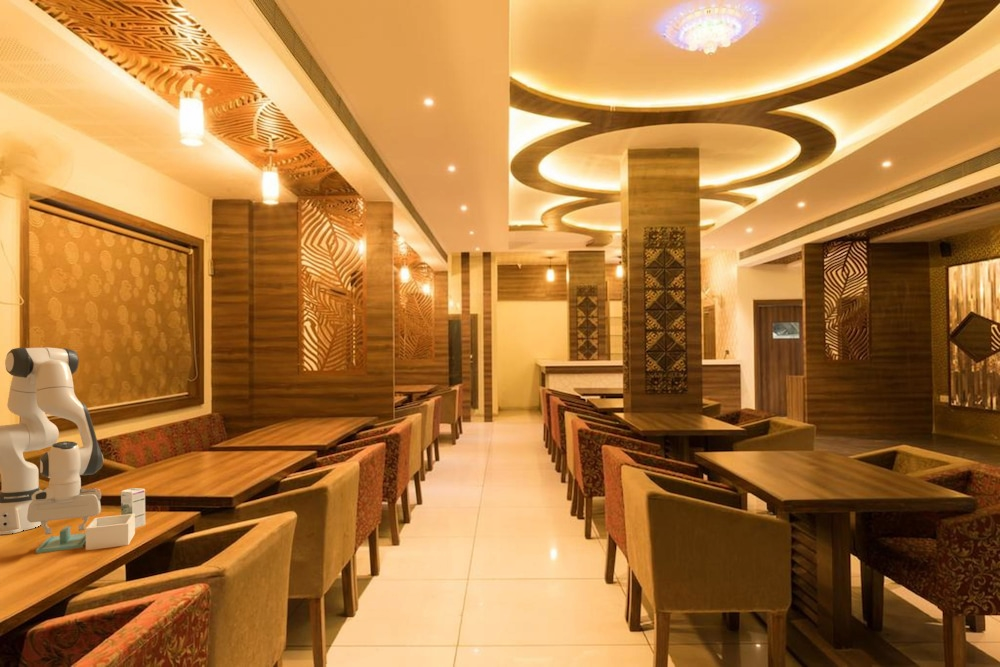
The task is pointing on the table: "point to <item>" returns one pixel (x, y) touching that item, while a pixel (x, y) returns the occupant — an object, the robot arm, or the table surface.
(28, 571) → the table surface
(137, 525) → the syrup box
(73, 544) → the lid
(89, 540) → the tub
